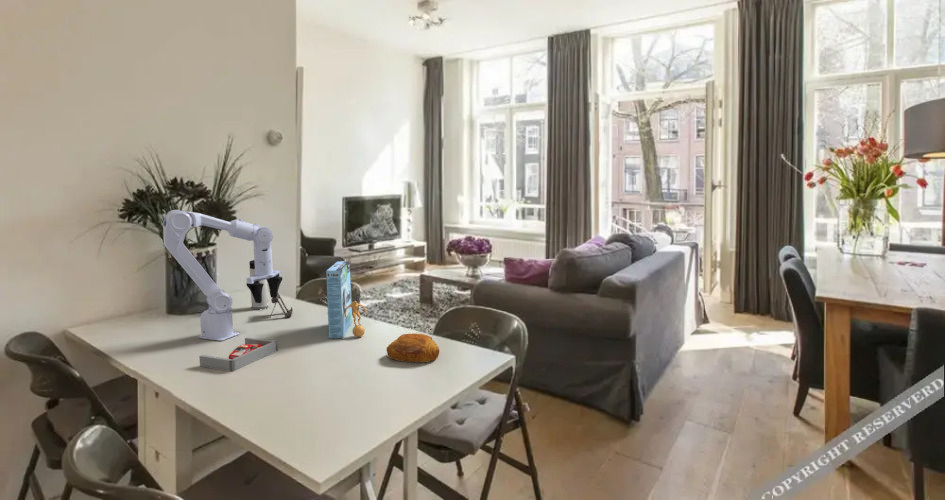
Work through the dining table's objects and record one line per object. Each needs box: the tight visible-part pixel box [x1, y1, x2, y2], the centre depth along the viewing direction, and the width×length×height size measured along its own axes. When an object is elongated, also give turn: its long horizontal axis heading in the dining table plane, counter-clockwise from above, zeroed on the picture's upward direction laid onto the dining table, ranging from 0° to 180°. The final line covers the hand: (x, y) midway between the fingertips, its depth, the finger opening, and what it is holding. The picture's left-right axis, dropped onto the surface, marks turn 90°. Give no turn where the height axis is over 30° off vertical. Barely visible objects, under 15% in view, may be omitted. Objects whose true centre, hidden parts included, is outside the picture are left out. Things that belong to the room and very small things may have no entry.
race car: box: [228, 343, 262, 359], centre depth 149 cm, size 13×5×4 cm, turn 174°
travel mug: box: [248, 259, 269, 311], centre depth 204 cm, size 6×7×20 cm
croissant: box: [386, 333, 440, 363], centre depth 150 cm, size 14×16×8 cm
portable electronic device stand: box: [269, 292, 293, 319], centre depth 193 cm, size 9×8×8 cm
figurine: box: [345, 300, 368, 338], centre depth 169 cm, size 8×6×12 cm
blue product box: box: [325, 260, 353, 339], centre depth 174 cm, size 20×5×23 cm, turn 4°
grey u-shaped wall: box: [198, 336, 279, 373], centre depth 148 cm, size 12×18×3 cm, turn 161°
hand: (266, 299), depth 175 cm, fingers open, 7 cm apart
